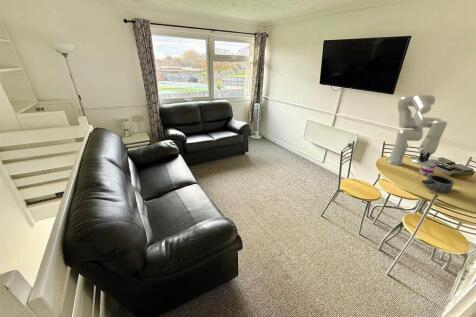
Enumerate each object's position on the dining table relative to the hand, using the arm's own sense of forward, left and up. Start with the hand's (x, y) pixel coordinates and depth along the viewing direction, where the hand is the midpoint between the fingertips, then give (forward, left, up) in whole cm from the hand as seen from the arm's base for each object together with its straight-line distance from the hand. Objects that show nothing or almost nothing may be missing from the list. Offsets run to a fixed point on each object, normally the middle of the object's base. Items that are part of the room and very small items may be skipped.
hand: (422, 160), depth 155 cm
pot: (+12, +5, -17) cm, 22 cm away
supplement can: (-7, +18, -18) cm, 26 cm away
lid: (0, 0, -2) cm, 2 cm away
